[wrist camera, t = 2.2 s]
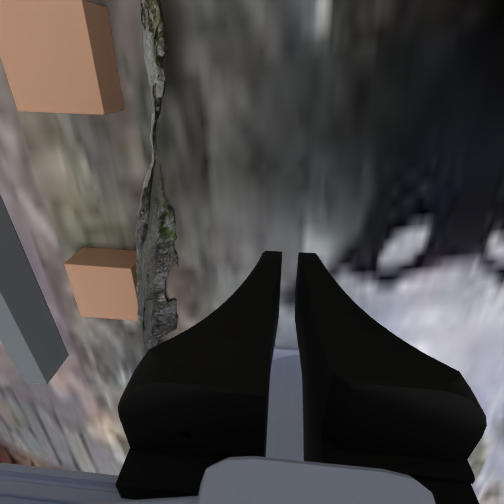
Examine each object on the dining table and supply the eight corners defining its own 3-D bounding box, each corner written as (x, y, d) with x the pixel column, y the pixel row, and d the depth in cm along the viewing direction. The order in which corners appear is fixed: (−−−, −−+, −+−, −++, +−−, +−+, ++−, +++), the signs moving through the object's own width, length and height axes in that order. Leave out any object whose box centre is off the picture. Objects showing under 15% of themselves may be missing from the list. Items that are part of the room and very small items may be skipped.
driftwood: (134, -346, 11) (30, -625, 6) (209, -334, 11) (156, -604, 6) (152, 373, 30) (129, 426, 25) (179, 378, 30) (160, 431, 25)
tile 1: (109, 8, 16) (81, -1, 13) (126, 108, 18) (104, 114, 16) (22, 6, 16) (-19, -3, 14) (49, 105, 18) (18, 111, 16)
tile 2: (145, 249, 23) (130, 268, 20) (153, 299, 25) (141, 321, 23) (84, 245, 23) (63, 263, 21) (98, 294, 25) (81, 316, 23)
